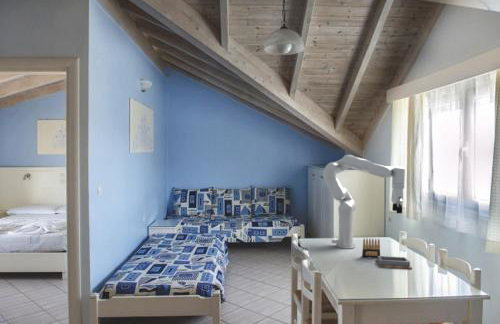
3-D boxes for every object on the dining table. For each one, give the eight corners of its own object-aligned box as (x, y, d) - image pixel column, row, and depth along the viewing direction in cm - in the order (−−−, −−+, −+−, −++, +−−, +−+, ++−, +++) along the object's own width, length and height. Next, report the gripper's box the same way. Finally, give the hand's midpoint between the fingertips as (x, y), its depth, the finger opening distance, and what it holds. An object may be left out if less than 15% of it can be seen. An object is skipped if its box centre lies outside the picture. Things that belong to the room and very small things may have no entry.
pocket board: (380, 267, 209) (380, 261, 209) (375, 260, 223) (375, 254, 223) (411, 269, 206) (412, 263, 206) (405, 262, 220) (405, 256, 220)
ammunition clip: (362, 257, 230) (363, 238, 229) (362, 256, 231) (362, 237, 231) (380, 258, 228) (380, 238, 228) (379, 257, 230) (379, 238, 230)
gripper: (388, 184, 249) (387, 209, 249) (395, 186, 231) (394, 213, 232) (400, 184, 248) (399, 210, 248) (408, 187, 231) (407, 214, 231)
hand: (397, 211), depth 240 cm, fingers open, 9 cm apart
